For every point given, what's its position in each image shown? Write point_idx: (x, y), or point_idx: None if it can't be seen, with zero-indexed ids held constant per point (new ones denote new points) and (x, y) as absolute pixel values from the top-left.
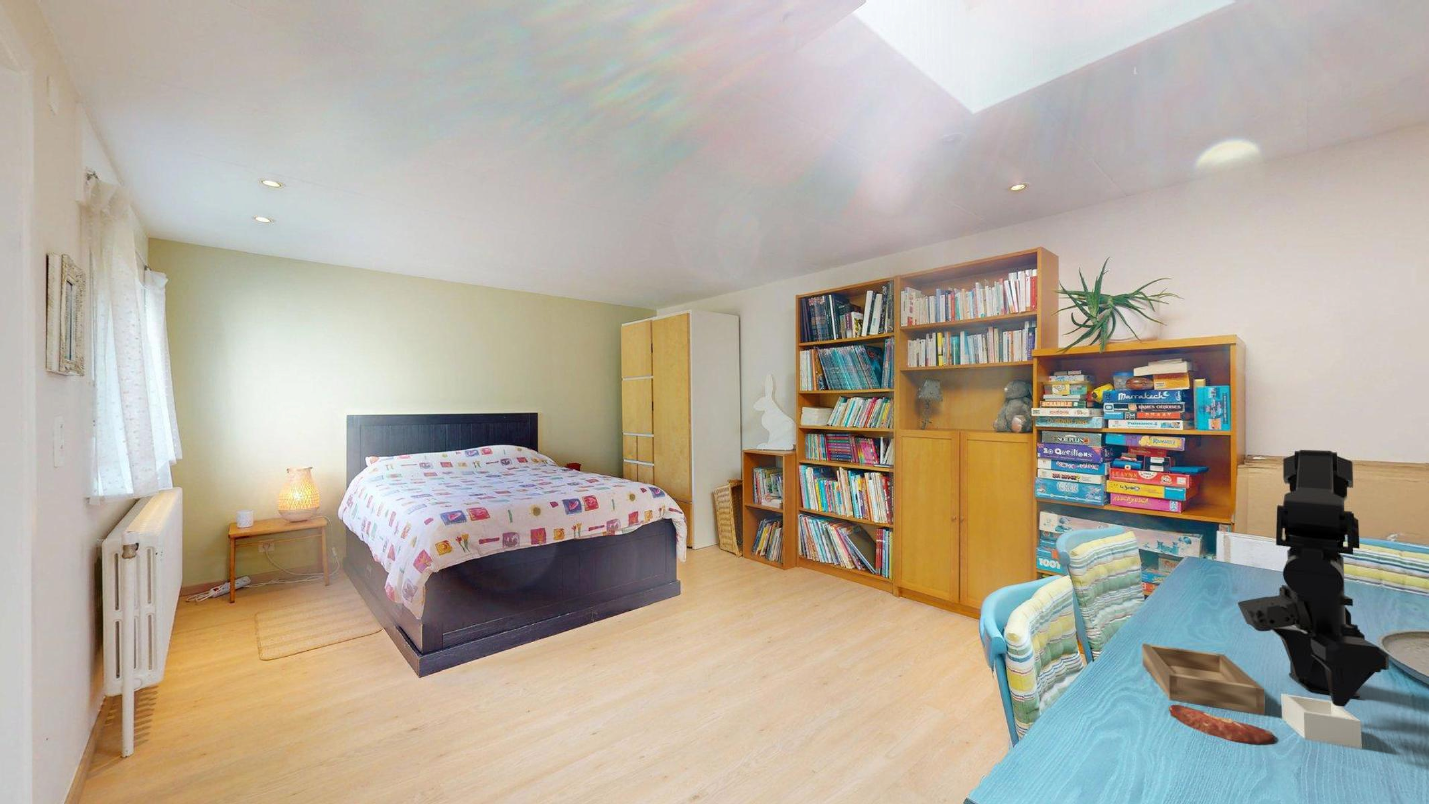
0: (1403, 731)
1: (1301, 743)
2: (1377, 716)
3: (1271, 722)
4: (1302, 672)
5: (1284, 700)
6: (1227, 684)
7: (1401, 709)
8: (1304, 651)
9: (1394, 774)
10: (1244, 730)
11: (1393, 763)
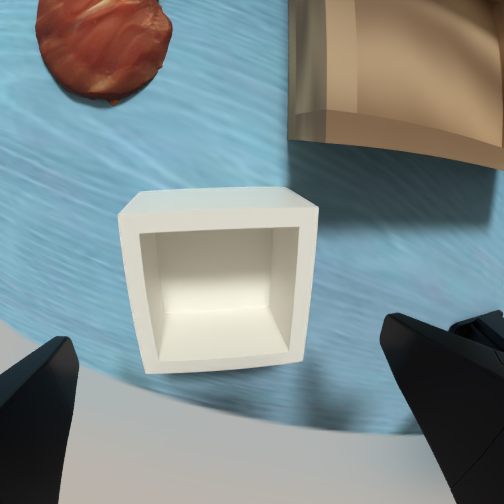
0: (307, 415)
1: (98, 168)
2: (365, 397)
3: (233, 135)
4: (394, 347)
5: (286, 203)
6: (325, 6)
7: (396, 423)
8: (457, 431)
9: (44, 321)
10: (69, 15)
11: (105, 347)
